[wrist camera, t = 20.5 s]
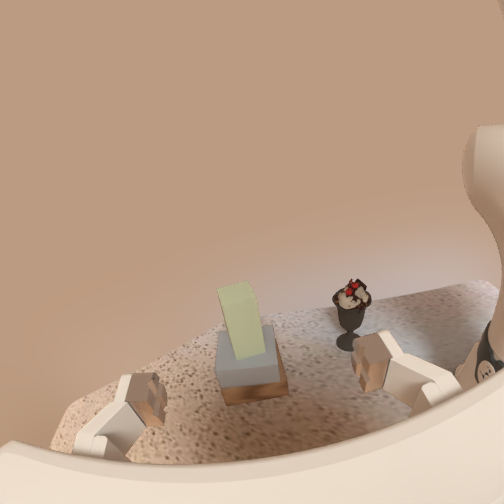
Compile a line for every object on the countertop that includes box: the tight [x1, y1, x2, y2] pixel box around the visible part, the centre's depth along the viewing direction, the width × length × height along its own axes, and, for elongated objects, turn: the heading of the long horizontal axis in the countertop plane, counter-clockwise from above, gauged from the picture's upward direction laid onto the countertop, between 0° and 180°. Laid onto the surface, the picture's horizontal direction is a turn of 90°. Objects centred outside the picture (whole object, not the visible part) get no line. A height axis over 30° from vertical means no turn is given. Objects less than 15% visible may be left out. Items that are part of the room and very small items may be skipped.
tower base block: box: [221, 339, 289, 406], centre depth 46 cm, size 10×10×4 cm
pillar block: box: [217, 281, 266, 361], centre depth 41 cm, size 4×4×10 cm
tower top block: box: [215, 325, 280, 388], centre depth 44 cm, size 9×9×4 cm
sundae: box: [332, 279, 371, 351], centre depth 47 cm, size 7×7×15 cm
